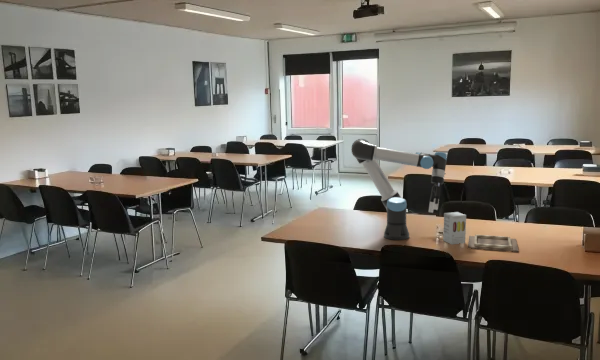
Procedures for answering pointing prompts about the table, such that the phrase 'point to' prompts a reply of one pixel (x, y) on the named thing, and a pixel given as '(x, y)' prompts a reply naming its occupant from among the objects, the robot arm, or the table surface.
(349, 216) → the table surface
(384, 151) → the robot arm
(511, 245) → the grey brown square tray
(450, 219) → the supplement box
